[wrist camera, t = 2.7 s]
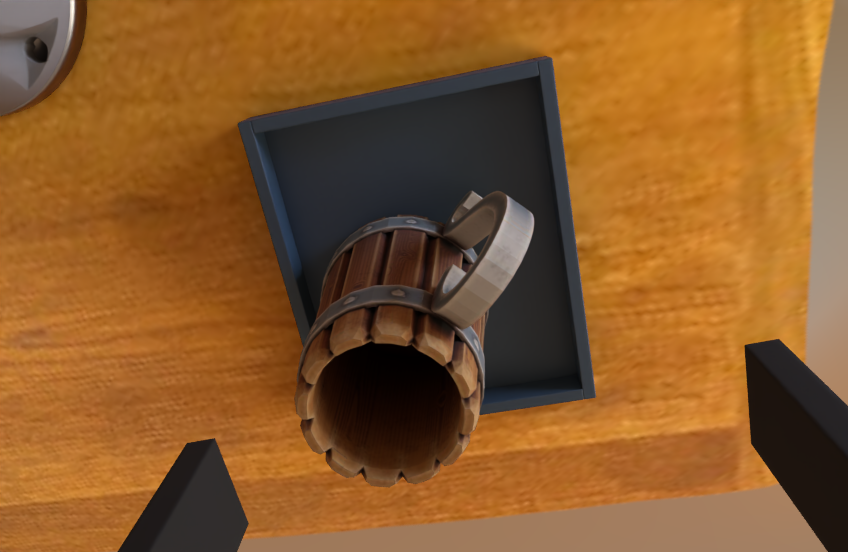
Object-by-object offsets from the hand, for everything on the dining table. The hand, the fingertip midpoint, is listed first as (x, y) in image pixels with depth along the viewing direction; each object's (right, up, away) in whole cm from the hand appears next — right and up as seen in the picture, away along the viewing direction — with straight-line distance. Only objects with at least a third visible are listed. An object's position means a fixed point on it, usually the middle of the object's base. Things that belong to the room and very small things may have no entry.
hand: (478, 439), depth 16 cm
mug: (-1, +5, +26) cm, 27 cm away
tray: (-1, +5, +27) cm, 27 cm away
